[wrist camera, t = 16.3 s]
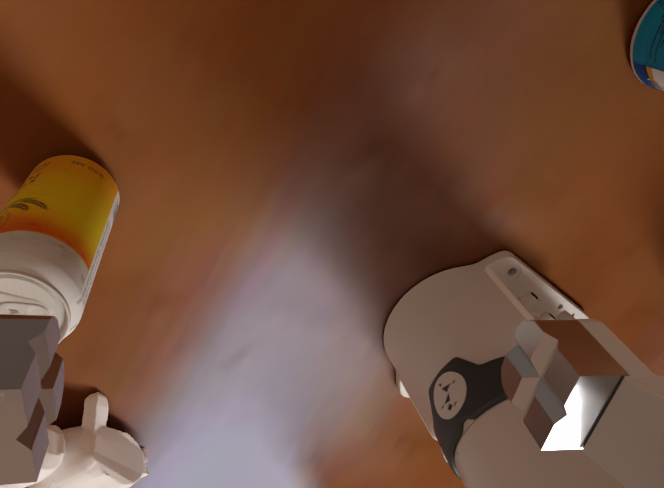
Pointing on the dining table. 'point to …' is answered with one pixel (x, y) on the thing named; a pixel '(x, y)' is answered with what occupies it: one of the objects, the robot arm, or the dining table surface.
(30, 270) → the beer can
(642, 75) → the beverage bottle
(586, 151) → the dining table surface
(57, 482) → the white low-poly figurine
